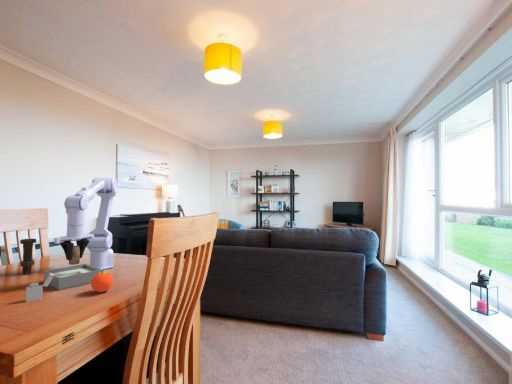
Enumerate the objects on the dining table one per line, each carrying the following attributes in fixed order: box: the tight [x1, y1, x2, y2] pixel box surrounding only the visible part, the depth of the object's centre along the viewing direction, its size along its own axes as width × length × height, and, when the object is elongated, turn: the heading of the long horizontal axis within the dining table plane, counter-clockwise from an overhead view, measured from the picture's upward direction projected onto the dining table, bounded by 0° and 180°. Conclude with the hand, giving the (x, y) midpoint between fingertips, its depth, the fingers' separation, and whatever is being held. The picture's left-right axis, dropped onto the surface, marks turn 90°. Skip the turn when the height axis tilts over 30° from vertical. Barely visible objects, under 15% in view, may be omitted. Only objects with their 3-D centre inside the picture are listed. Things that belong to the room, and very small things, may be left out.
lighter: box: [25, 273, 54, 303], centre depth 87 cm, size 7×2×8 cm, turn 130°
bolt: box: [19, 238, 37, 275], centre depth 115 cm, size 6×5×15 cm
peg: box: [68, 245, 81, 266], centre depth 105 cm, size 4×4×7 cm
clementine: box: [90, 271, 116, 293], centre depth 95 cm, size 8×7×7 cm
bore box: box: [43, 263, 104, 292], centre depth 105 cm, size 15×16×4 cm
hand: (74, 258), depth 105 cm, fingers closed on peg, 4 cm apart
